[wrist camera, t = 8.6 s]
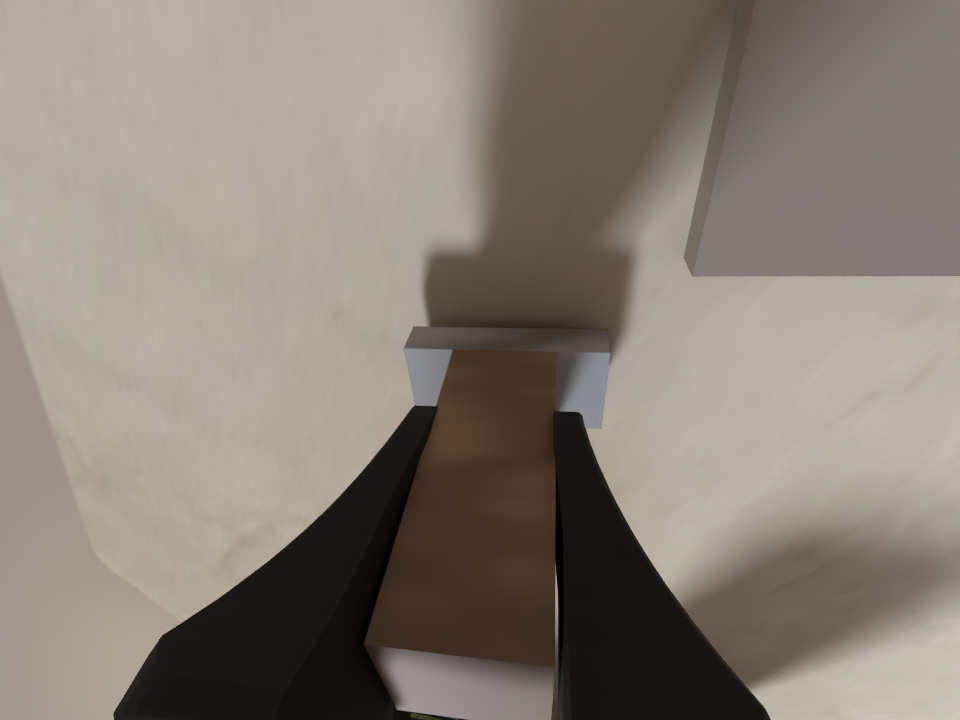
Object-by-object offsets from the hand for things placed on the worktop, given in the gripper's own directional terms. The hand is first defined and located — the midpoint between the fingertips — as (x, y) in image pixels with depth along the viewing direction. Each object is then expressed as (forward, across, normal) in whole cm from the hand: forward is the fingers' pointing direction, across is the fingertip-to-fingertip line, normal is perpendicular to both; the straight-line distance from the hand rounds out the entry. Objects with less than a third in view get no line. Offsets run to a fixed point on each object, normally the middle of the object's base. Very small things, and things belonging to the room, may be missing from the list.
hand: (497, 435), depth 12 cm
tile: (+4, -9, -3) cm, 10 cm away
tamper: (+4, 0, +1) cm, 4 cm away
